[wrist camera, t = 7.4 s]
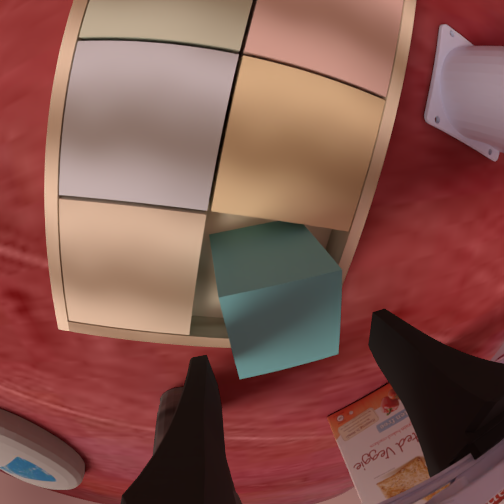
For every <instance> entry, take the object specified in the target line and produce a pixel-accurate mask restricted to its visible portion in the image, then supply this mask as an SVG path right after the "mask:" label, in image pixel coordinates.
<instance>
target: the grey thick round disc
mask: <svg viewBox="0 0 504 504" xmlns="http://www.w3.org/2000/svg"><path fill="white" fill-rule="evenodd" d="M0 469H1V470H3V471H5V472H6V473H8V474H10V475H12V476H14V477H16V478H18V479H20V480H23V481H25V482H28V483H30V484H33V485H36V486H40V487H43V488H48V489H55V490H68V489H73V488H75V487H77V486H78V485H79V484H80V483H81V482H82V480H83V477H84V472H85V463H84V461H83V459H82V458H81V457H80V455H79V454H78V453H77V452H76V451H75V450H74V449H72V448H71V447H70V446H68V445H67V444H66V443H65V442H63V441H62V440H60V439H59V438H57V437H56V436H54V435H52V434H51V433H49V432H48V431H46V430H44V429H42V428H41V427H39V426H37V425H35V424H33V423H31V422H29V421H27V420H25V419H23V418H21V417H19V416H17V415H15V414H12V413H10V412H8V411H5V410H2V409H0Z"/></svg>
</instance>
